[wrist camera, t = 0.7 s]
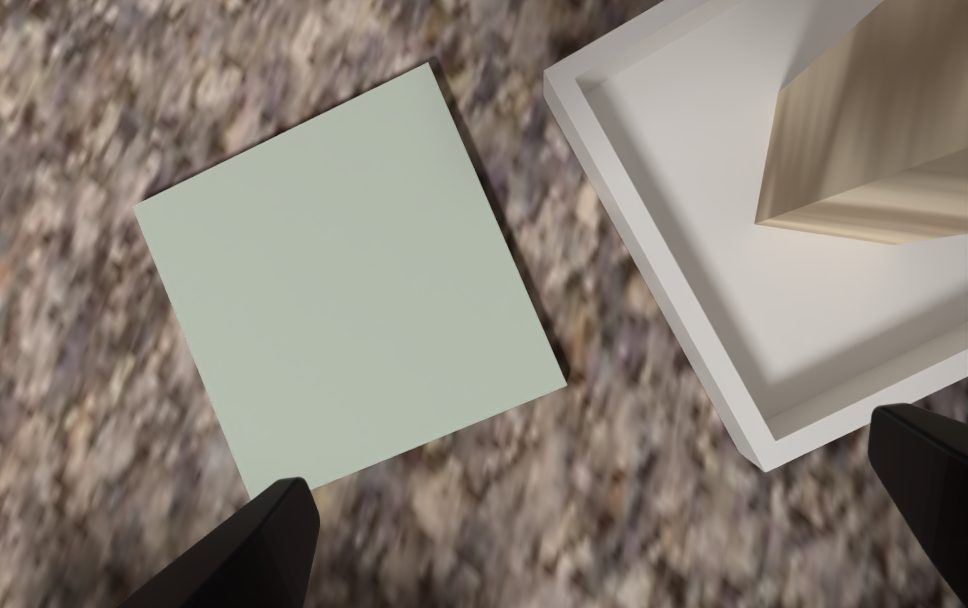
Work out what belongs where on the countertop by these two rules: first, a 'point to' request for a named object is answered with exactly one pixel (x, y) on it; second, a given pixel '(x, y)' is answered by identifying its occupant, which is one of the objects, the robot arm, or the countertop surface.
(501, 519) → the countertop surface
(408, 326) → the mat
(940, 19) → the wooden block
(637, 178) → the bin
